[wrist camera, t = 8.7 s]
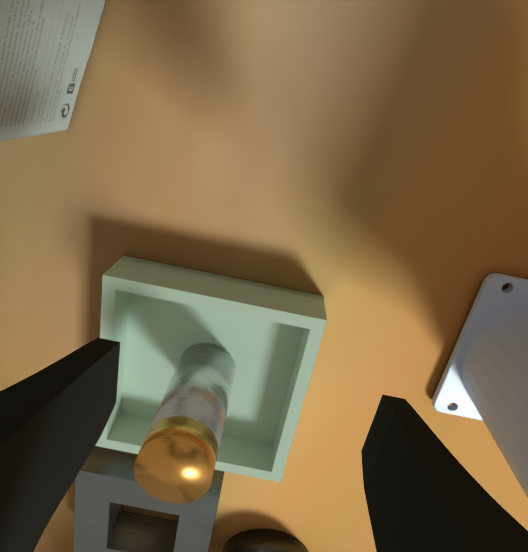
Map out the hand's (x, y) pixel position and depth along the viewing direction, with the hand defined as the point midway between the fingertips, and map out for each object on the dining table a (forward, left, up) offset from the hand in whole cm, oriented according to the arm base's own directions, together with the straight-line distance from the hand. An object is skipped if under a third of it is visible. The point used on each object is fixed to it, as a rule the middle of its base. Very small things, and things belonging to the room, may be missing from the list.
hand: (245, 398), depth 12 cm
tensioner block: (+1, +19, -10) cm, 21 cm away
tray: (+2, +6, -10) cm, 12 cm away
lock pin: (+2, +6, -9) cm, 11 cm away
